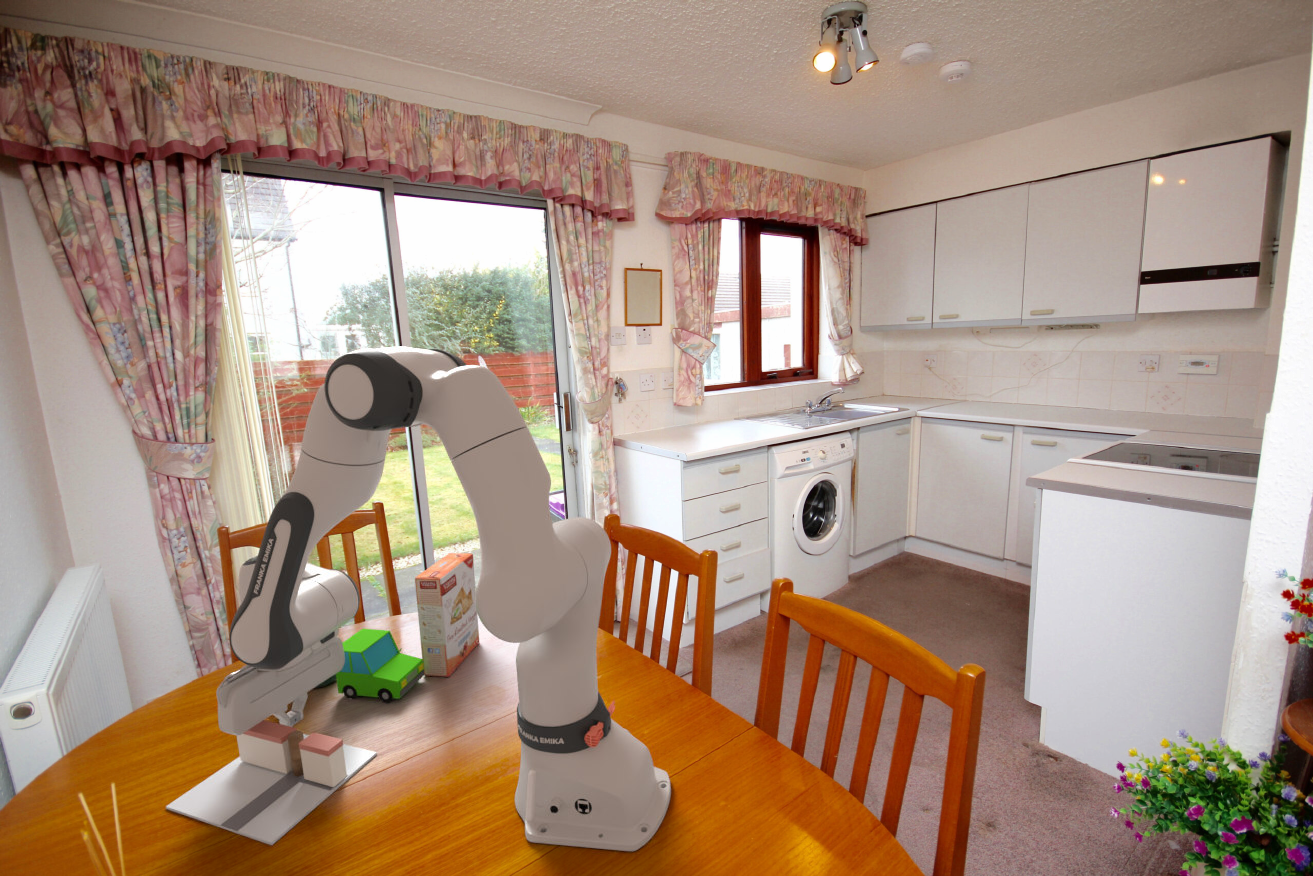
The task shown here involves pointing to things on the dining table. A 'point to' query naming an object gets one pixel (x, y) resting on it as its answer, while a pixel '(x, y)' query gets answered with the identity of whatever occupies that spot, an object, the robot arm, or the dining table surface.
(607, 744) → the robot arm
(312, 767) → the fixed fence panel
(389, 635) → the toy car
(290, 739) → the hinge post
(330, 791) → the card
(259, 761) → the folding fence panel
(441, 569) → the cracker box
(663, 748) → the dining table surface
